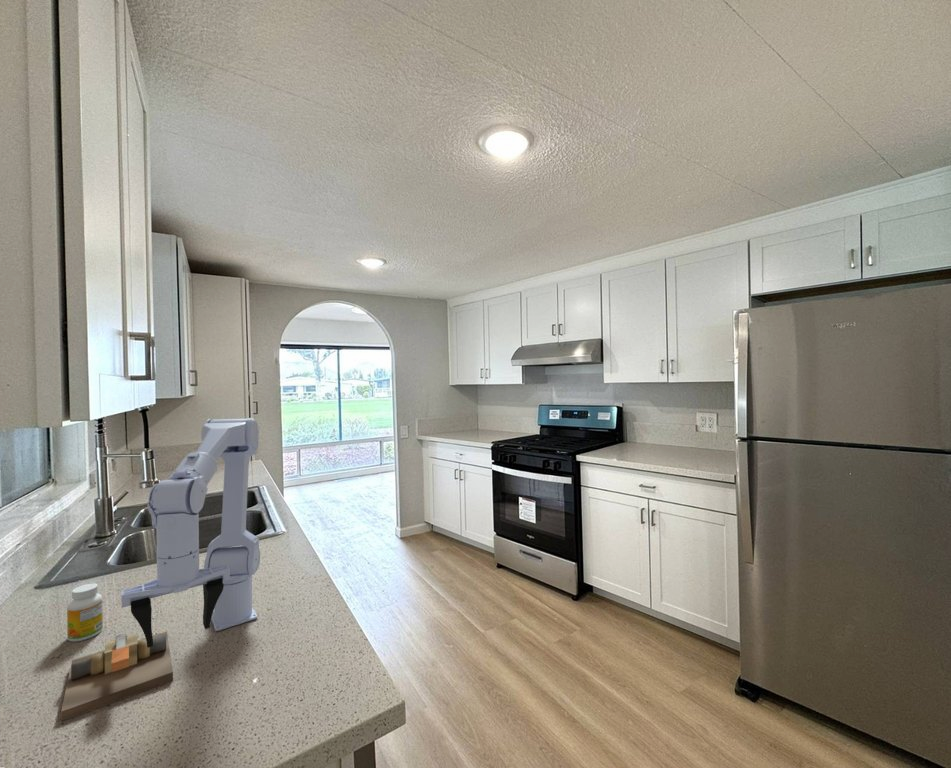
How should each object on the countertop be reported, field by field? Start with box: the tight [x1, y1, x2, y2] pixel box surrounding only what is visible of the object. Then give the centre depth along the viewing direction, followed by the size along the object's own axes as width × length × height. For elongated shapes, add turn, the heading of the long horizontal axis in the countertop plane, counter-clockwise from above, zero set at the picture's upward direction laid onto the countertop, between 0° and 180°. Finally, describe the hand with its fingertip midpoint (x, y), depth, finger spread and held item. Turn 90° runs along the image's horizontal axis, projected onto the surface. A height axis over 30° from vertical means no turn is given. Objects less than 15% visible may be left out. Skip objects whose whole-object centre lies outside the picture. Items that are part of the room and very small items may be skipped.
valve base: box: [60, 631, 174, 722], centre depth 76 cm, size 16×14×5 cm
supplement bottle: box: [66, 583, 104, 643], centre depth 88 cm, size 5×5×10 cm
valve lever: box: [111, 633, 129, 672], centre depth 73 cm, size 10×2×1 cm, turn 39°
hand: (179, 634), depth 70 cm, fingers open, 7 cm apart
